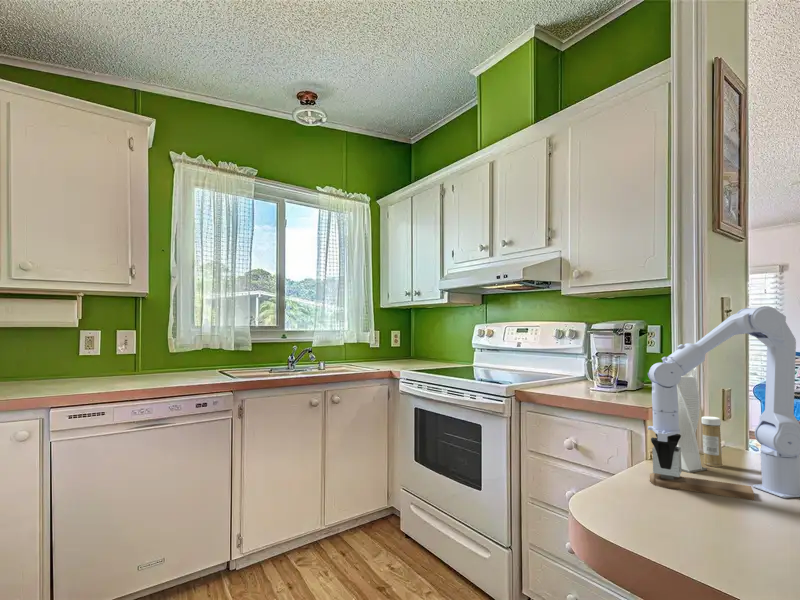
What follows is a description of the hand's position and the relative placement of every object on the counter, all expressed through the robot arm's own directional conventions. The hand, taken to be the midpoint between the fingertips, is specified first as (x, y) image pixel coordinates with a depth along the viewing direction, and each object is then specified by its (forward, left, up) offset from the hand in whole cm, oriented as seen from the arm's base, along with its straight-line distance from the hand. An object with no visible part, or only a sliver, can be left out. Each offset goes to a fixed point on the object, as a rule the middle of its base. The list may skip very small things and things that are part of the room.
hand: (667, 465), depth 116 cm
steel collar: (0, 0, -2) cm, 2 cm away
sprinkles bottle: (-24, -13, -5) cm, 28 cm away
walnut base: (-5, +4, -4) cm, 8 cm away
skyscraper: (-14, -11, -5) cm, 18 cm away
